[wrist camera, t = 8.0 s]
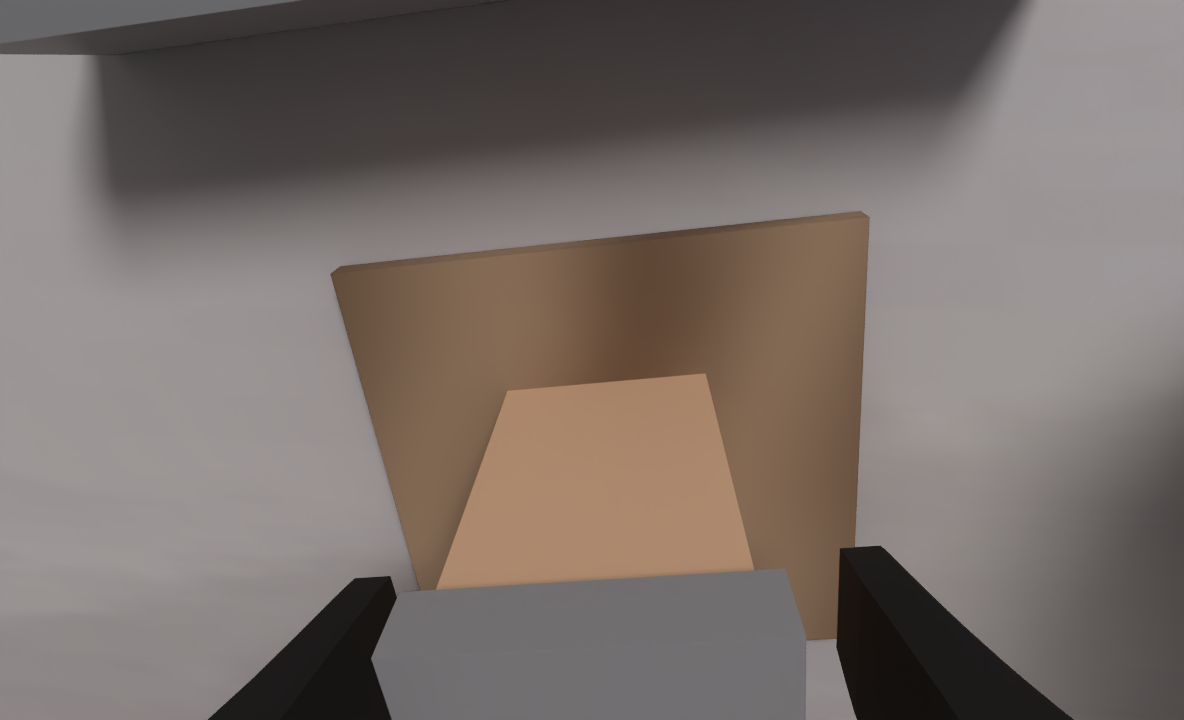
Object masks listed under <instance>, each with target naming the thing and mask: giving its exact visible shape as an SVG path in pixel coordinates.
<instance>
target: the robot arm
mask: <svg viewBox="0 0 1184 720" xmlns="http://www.w3.org/2000/svg"><path fill="white" fill-rule="evenodd" d="M396 599H397V597H396V594H395V590H394V587H393V584H392V580H391V577H390V576H386V577H370V578H355V579H354V580H353V581H352V582H350V583H349V584H348V585H347V586H346V587H345V588H344V589H343V590H342V591H341V592H340V593H339V594H338V595H337V596H336V597H335V598H334V599H333V600H332V601H331V602H330V603H329V604H328V605H327V606H326V607H325V608H324V609H323V610H322V611H321V612H320V613H319V614H318V615H317V616H316V617H315V618H314V619H313V620H312V621H311V622H310V623H309V624H308V625H307V626H306V627H305V628H304V629H303V630H302V631H301V632H300V633H299V634H298V635H297V636H296V637H295V638H294V639H293V640H292V641H291V642H290V643H289V644H288V645H287V646H286V647H285V648H283V649H282V650H281V651H280V652H279V653H278V654H277V655H276V656H275V657H274V658H273V659H272V660H271V661H270V662H269V663H268V664H267V665H266V666H265V667H264V668H263V669H262V670H261V671H260V672H259V673H258V674H257V675H256V676H255V677H254V678H253V679H252V680H251V681H250V682H249V683H247V684H246V685H245V686H244V687H243V688H242V689H241V690H240V691H239V692H238V693H236V694H235V695H234V696H233V697H232V698H231V699H230V700H229V701H228V702H227V703H226V704H224V705H223V706H222V707H221V708H220V709H219V710H218V711H217V712H216V713H215V714H213V715H212V716H211V717H210V718H209V719H208V720H392V719H391V716H390V713H389V710H388V707H387V704H386V701H385V698H384V695H383V692H382V689H381V686H380V683H379V680H378V677H377V674H376V671H375V669H374V666H373V663H372V660H371V658H372V655H373V653H374V651H375V648H376V646H377V644H378V641H379V639H380V637H381V634H382V632H383V629H384V627H385V625H386V622H387V620H388V618H389V615H390V613H391V611H392V608H393V606H394V604H395V601H396ZM836 647H837V651H838V655H839V658H840V662H841V666H842V670H843V673H844V677H845V681H846V684H847V688H848V691H849V695H850V698H851V702H852V705H853V709H854V712H855V715H856V718H857V720H1074V719H1072V718H1071V717H1070V716H1068V715H1067V714H1066V713H1065V712H1063V711H1062V710H1061V709H1060V708H1058V707H1057V706H1056V705H1055V704H1053V703H1052V702H1051V701H1050V700H1049V699H1047V698H1046V697H1045V696H1044V695H1043V694H1041V693H1040V692H1039V691H1038V690H1037V689H1035V688H1034V687H1033V686H1032V685H1030V684H1029V683H1028V682H1027V681H1026V680H1024V679H1023V678H1022V677H1021V676H1020V675H1019V674H1017V673H1016V672H1015V671H1014V670H1013V669H1012V668H1010V667H1009V666H1008V665H1007V664H1006V663H1005V662H1003V661H1002V660H1001V659H1000V658H999V657H998V656H997V655H996V654H995V653H993V652H992V651H991V650H990V649H989V648H988V647H987V646H986V645H985V644H983V643H982V642H981V641H980V640H979V639H978V638H977V637H976V636H975V635H973V634H972V633H971V632H970V631H969V630H968V629H967V628H966V627H965V626H963V625H962V624H961V623H960V622H959V621H958V620H957V619H956V618H955V617H954V616H953V615H952V614H951V613H950V612H949V611H947V610H946V609H945V608H944V607H943V606H942V605H941V604H940V603H939V602H938V601H937V600H936V599H935V598H934V597H933V596H932V595H931V594H930V593H929V592H928V591H927V590H926V589H925V588H924V587H923V586H922V585H921V584H920V583H919V582H918V581H917V580H915V579H914V578H913V577H912V576H911V575H910V574H909V573H908V572H907V571H906V570H905V569H904V568H903V567H902V566H901V565H900V564H899V563H898V562H897V561H896V560H895V559H894V558H893V557H892V556H891V555H890V554H889V553H888V552H887V551H886V550H885V549H884V548H883V547H881V546H869V547H853V548H840V557H839V587H838V616H837V646H836Z"/></svg>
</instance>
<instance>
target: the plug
mask: <svg viewBox="0 0 1184 720" xmlns="http://www.w3.org/2000/svg"><path fill="white" fill-rule="evenodd" d="M371 660H372V663H373V666H374V669H375V671H376V674H377V677H378V680H379V683H380V686H381V689H382V692H383V695H384V698H385V701H386V704H387V707H388V710H389V713H390V716H391V719H392V720H805V713H806V634H805V631H804V628H803V624H802V621H801V618H800V615H799V611H798V608H797V605H796V602H795V598H794V595H793V592H792V589H791V585H790V582H789V579H788V576H787V573H786V569H769V570H754V566H753V562H752V558H751V554H750V550H749V546H748V542H747V538H746V534H745V530H744V526H743V522H742V518H741V514H740V510H739V506H738V502H737V498H736V494H735V490H734V486H733V482H732V478H731V474H730V470H729V466H728V462H727V458H726V454H725V450H724V445H723V441H722V437H721V433H720V429H719V425H718V421H717V417H716V413H715V409H714V405H713V401H712V397H711V393H710V389H709V385H708V381H707V377H706V373H705V374H694V375H682V376H671V377H660V378H648V379H637V380H626V381H614V382H603V383H591V384H580V385H569V386H557V387H546V388H535V389H523V390H512V391H507V394H506V396H505V399H504V402H503V405H502V408H501V410H500V413H499V416H498V419H497V421H496V424H495V427H494V430H493V433H492V435H491V438H490V441H489V444H488V446H487V449H486V452H485V455H484V457H483V460H482V463H481V466H480V469H479V471H478V474H477V477H476V480H475V482H474V485H473V488H472V491H471V494H470V496H469V499H468V502H467V505H466V507H465V510H464V513H463V516H462V519H461V521H460V524H459V527H458V530H457V532H456V535H455V538H454V541H453V544H452V546H451V549H450V552H449V555H448V557H447V560H446V563H445V566H444V569H443V571H442V574H441V577H440V580H439V582H438V585H437V588H436V590H425V591H409V592H399V594H398V597H397V599H396V601H395V604H394V606H393V608H392V611H391V613H390V615H389V618H388V620H387V622H386V625H385V627H384V629H383V632H382V634H381V637H380V639H379V641H378V644H377V646H376V648H375V651H374V653H373V655H372V658H371Z"/></svg>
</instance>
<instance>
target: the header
mask: <svg viewBox="0 0 1184 720" xmlns="http://www.w3.org/2000/svg"><path fill="white" fill-rule="evenodd" d="M496 1H503V0H0V54H58V55H118V54H125V53H132V52H139V51H146V50H153V49H160V48H168V47H175V46H182V45H189V44H196V43H203V42H210V41H218V40H225V39H232V38H239V37H246V36H253V35H261V34H268V33H275V32H282V31H289V30H296V29H303V28H311V27H318V26H325V25H332V24H339V23H346V22H353V21H361V20H368V19H375V18H382V17H389V16H396V15H403V14H411V13H418V12H425V11H432V10H439V9H446V8H453V7H461V6H468V5H475V4H482V3H489V2H496Z"/></svg>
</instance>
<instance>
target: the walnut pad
mask: <svg viewBox="0 0 1184 720" xmlns="http://www.w3.org/2000/svg"><path fill="white" fill-rule="evenodd" d="M868 238H869V217H868V216H867V215H865V214H864V213H862V212H861V211H859V212H850V213H840V214H831V215H822V216H812V217H803V218H793V219H784V220H774V221H765V222H755V223H746V224H737V225H727V226H718V227H708V228H699V229H689V230H680V231H670V232H661V233H652V234H642V235H633V236H623V237H614V238H604V239H595V240H585V241H576V242H567V243H557V244H548V245H538V246H529V247H519V248H510V249H500V250H491V251H482V252H472V253H463V254H453V255H444V256H434V257H425V258H415V259H406V260H397V261H387V262H378V263H368V264H359V265H349V266H340V267H339V268H338V269H336V270H335V271H334V272H332V273H331V278H332V281H333V285H334V288H335V292H336V295H337V299H338V302H339V306H340V309H341V313H342V317H343V320H344V324H345V327H346V331H347V334H348V338H349V341H350V345H351V348H352V352H353V355H354V359H355V362H356V366H357V370H358V373H359V377H360V380H361V384H362V387H363V391H364V394H365V398H366V401H367V405H368V408H369V412H370V416H371V419H372V423H373V426H374V430H375V433H376V437H377V440H378V444H379V447H380V451H381V454H382V458H383V462H384V465H385V469H386V472H387V476H388V479H389V483H390V486H391V490H392V493H393V497H394V500H395V504H396V508H397V511H398V515H399V518H400V522H401V525H402V529H403V532H404V536H405V539H406V543H407V546H408V550H409V554H410V557H411V561H412V564H413V568H414V571H415V575H416V578H417V582H418V585H419V589H420V591H425V590H436V588H437V585H438V582H439V580H440V577H441V574H442V571H443V569H444V566H445V563H446V560H447V557H448V555H449V552H450V549H451V546H452V544H453V541H454V538H455V535H456V532H457V530H458V527H459V524H460V521H461V519H462V516H463V513H464V510H465V507H466V505H467V502H468V499H469V496H470V494H471V491H472V488H473V485H474V482H475V480H476V477H477V474H478V471H479V469H480V466H481V463H482V460H483V457H484V455H485V452H486V449H487V446H488V444H489V441H490V438H491V435H492V433H493V430H494V427H495V424H496V421H497V419H498V416H499V413H500V410H501V408H502V405H503V402H504V399H505V396H506V394H507V391H512V390H523V389H535V388H546V387H557V386H569V385H580V384H591V383H603V382H614V381H626V380H637V379H648V378H660V377H671V376H682V375H694V374H705V373H706V377H707V381H708V385H709V389H710V393H711V397H712V401H713V405H714V409H715V413H716V417H717V421H718V425H719V429H720V433H721V437H722V441H723V445H724V450H725V454H726V458H727V462H728V466H729V470H730V474H731V478H732V482H733V486H734V490H735V494H736V498H737V502H738V506H739V510H740V514H741V518H742V522H743V526H744V530H745V534H746V538H747V542H748V546H749V550H750V554H751V558H752V562H753V566H754V570H769V569H786V573H787V576H788V579H789V582H790V585H791V589H792V592H793V595H794V598H795V602H796V605H797V608H798V611H799V615H800V618H801V621H802V624H803V628H804V631H805V634H806V640H819V639H837V616H838V587H839V557H840V548H853V547H855V529H856V507H857V484H858V462H859V439H860V417H861V395H862V372H863V350H864V328H865V305H866V283H867V261H868Z"/></svg>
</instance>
